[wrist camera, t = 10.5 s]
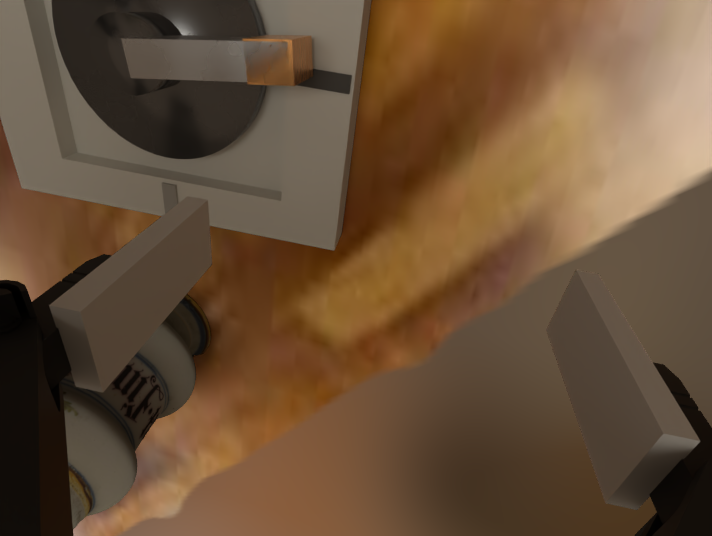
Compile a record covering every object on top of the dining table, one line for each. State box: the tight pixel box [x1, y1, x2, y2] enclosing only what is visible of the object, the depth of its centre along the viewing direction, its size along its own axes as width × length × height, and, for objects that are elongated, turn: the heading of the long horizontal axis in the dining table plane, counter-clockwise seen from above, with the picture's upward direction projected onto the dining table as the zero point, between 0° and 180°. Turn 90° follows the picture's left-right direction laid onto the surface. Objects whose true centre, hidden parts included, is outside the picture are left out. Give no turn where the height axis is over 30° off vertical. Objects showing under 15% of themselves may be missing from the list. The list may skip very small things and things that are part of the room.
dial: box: [52, 0, 313, 159], centre depth 24 cm, size 16×13×6 cm
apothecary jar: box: [60, 294, 211, 529], centre depth 33 cm, size 12×12×18 cm
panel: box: [0, 0, 371, 251], centre depth 26 cm, size 22×24×3 cm
